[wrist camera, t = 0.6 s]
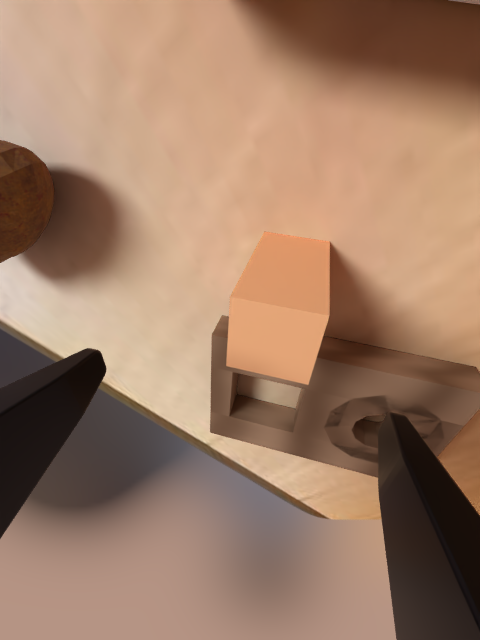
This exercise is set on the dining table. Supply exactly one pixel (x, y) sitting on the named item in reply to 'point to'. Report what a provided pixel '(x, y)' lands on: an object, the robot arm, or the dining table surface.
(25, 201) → the potato
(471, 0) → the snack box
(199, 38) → the dining table surface
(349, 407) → the socket board
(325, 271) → the square peg
